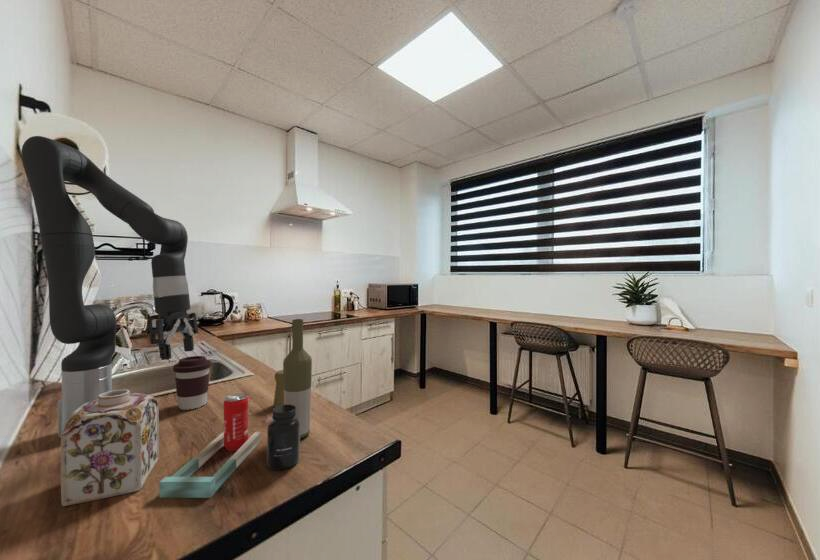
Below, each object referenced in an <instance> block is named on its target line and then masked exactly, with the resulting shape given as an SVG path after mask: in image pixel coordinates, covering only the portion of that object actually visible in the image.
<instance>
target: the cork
mask: <svg viewBox="0 0 820 560" xmlns="http://www.w3.org/2000/svg"><path fill="white" fill-rule="evenodd" d="M274 380H275V382H276V383H275V390H274V395H273V396H274V398H273V404H272V406H273V408H274V407H275V408H276V407H277V406H281V405H284V379H283V369H281V370H278V371H276V372H275V373H274Z"/></svg>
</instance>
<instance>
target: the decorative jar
mask: <svg viewBox="0 0 820 560" xmlns="http://www.w3.org/2000/svg"><path fill="white" fill-rule="evenodd" d="M159 404H160V402H159V401H158V400H157V399H156V398H155V397H154V396H153V395H149V394H146V393H142V392H141V393H140V392H136V393H131V392H130V390H129V389H116V390H113V389H112V391H109V392H105V393H102V394H100V395H99V396H98V399H96V400H94V401H91V402H88V403H85V404H83V405H82V406H80V407H79V408H77V409H76V410H75V411H74V412H73V413H72V414H71V416H70V417H69V420H68V422H67V423H66V425H65V427H64V430H63V431H62V432H61V434H60V435H61V437H60V500H61V501H60V502H61V507H67V506H73V505H74V506H75V505H77V504H83V503H84V504H85V503H88V502H89V503H90V502H93V501H97V500H103V499H107V498H112V497H116V496H121V495H126V494H131V493H135V492H136V493H137V492H140V491H141V489H142V488H143V486H144V485H145V483H146V481H147V479H148V477H149V476H150V474H151V472H152V471H153V469H154V467H155V466H156V464H157V463H158V461H159V460H160V459H159V453H160V451H159V450H160V419H159V417H160V414H159V413H160V412H159Z"/></svg>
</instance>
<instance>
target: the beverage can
mask: <svg viewBox="0 0 820 560" xmlns="http://www.w3.org/2000/svg"><path fill="white" fill-rule="evenodd" d="M223 432H224V445H223V446H224V447H225V449H226V451H227V452H235V451H236V452H237V451H238V450H239V449H240V447H241V446H242V445H243V444H244V443H245V442H246V441H247V440H248V439H249V397H248V395H247V394H246V393H241V392H240V393H239V392H238V393H233V394H230V395H227V396H225V398H224V401H223Z"/></svg>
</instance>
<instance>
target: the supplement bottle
mask: <svg viewBox="0 0 820 560" xmlns="http://www.w3.org/2000/svg"><path fill="white" fill-rule="evenodd" d="M271 418H272V419H271V421H270V422H269V423H268V425H267V428H266V429H267V431H266V435H267V437H266V442H267V443H266V465H267V467H269V468H270V469H271V470H273V471H283V470H288V469H290V468H292V467H294V466H295V465H296V464H297V463H298V462H299V460H300V455H301V454H300V453H301V451H300V449H301V438H300V421H299V419H298V418H296V407H295V406H293V405H281V406H277V407H276V408H274V407H273V409H272V415H271Z"/></svg>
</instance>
